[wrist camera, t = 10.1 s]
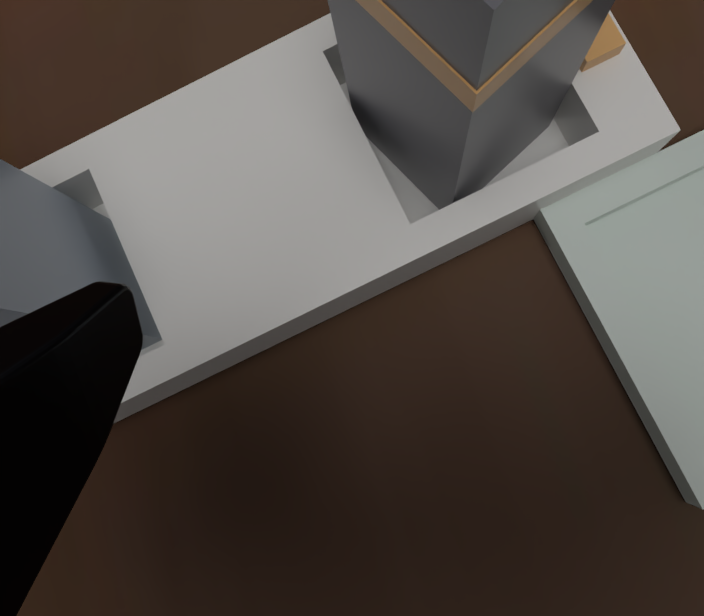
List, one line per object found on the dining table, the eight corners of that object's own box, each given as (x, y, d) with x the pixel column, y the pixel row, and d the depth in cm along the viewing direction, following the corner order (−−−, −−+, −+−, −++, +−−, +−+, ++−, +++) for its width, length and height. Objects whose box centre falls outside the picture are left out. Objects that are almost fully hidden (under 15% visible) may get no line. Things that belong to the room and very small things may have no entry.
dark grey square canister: (449, 221, 21) (508, -56, 8) (354, 126, 22) (260, -278, 9) (551, 126, 21) (782, -310, 8) (453, 33, 22) (514, -512, 9)
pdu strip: (0, 478, 22) (-79, 496, 19) (-78, 271, 23) (-166, 250, 20) (643, 165, 21) (689, 121, 18) (529, -33, 23) (551, -112, 19)
